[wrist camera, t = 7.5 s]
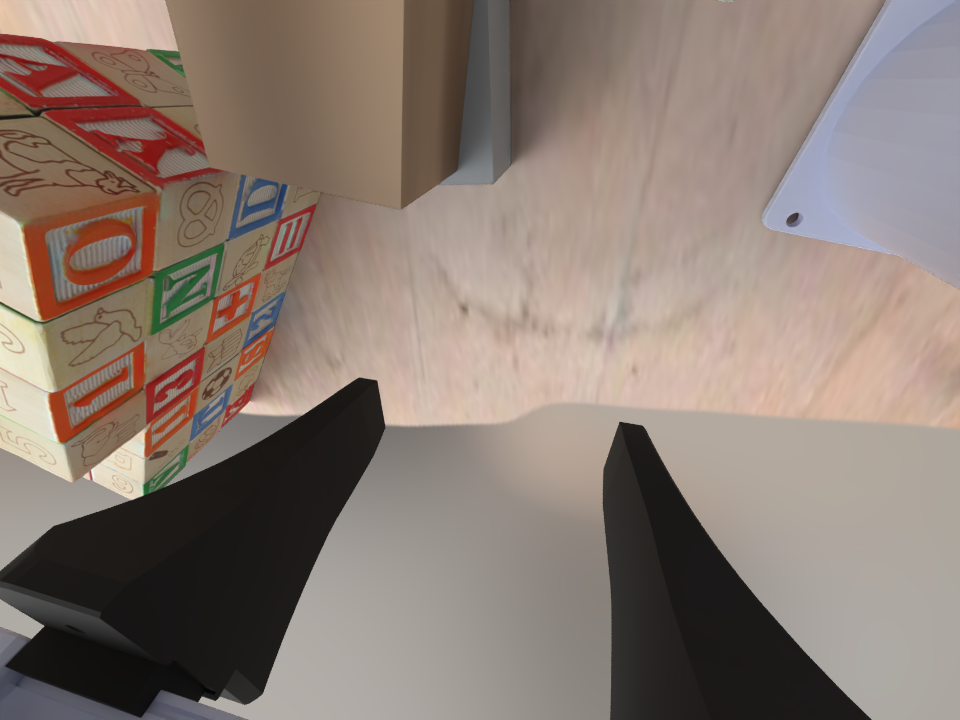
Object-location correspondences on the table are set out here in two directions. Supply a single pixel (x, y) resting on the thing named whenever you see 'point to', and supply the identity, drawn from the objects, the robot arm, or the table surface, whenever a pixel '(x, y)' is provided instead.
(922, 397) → the table surface
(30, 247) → the stack of blocks
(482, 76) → the slate block
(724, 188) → the table surface
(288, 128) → the walnut block
